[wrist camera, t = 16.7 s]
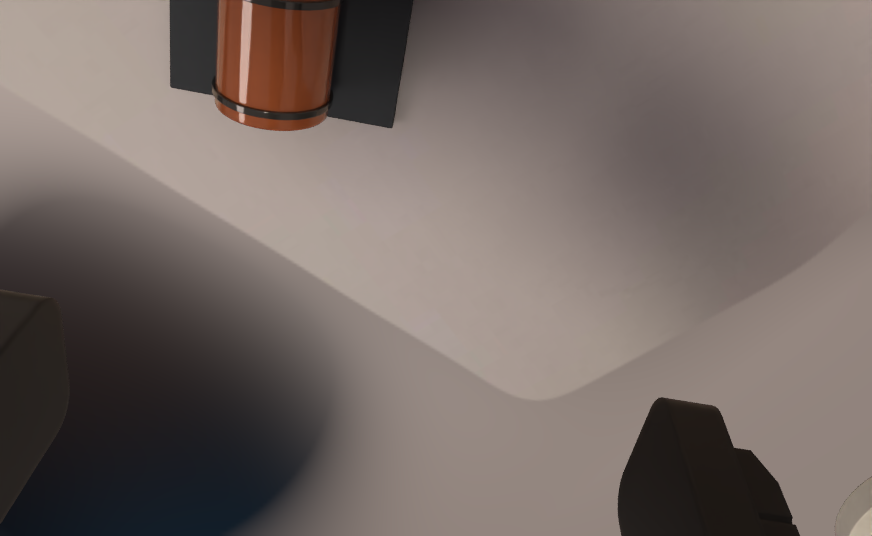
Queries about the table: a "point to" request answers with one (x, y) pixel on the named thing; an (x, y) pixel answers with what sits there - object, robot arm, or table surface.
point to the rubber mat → (353, 63)
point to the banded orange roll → (275, 61)
